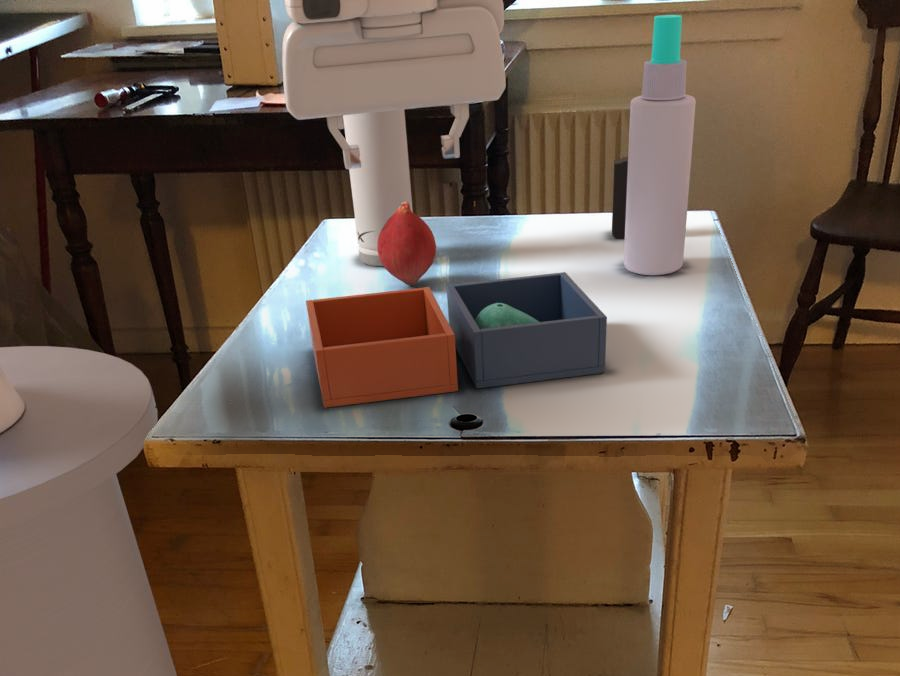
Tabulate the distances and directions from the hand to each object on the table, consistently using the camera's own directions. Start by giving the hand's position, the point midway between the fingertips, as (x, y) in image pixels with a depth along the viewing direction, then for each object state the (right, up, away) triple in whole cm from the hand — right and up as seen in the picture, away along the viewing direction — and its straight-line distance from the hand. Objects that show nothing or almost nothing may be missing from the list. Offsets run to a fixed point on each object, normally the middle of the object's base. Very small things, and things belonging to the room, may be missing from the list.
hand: (402, 162), depth 93 cm
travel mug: (-3, -4, +15) cm, 15 cm away
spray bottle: (+25, -7, +8) cm, 28 cm away
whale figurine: (+11, -21, -10) cm, 26 cm away
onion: (0, -9, +7) cm, 12 cm away
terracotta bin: (-1, -23, -11) cm, 25 cm away
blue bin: (+11, -21, -9) cm, 26 cm away
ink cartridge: (+25, 0, +18) cm, 30 cm away
